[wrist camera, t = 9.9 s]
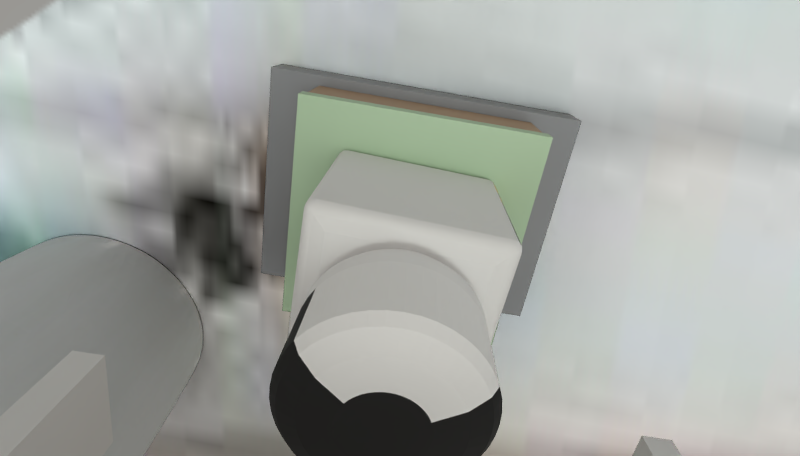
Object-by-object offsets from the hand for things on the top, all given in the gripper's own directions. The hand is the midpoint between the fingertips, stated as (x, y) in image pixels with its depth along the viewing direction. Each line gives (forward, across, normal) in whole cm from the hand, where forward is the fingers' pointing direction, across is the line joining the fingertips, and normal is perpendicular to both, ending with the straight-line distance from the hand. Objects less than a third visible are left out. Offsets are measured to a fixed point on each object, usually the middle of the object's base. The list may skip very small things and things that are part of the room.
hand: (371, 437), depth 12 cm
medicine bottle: (+12, 0, +1) cm, 12 cm away
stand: (+18, +1, +1) cm, 18 cm away
